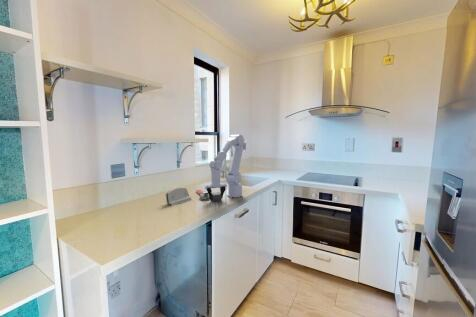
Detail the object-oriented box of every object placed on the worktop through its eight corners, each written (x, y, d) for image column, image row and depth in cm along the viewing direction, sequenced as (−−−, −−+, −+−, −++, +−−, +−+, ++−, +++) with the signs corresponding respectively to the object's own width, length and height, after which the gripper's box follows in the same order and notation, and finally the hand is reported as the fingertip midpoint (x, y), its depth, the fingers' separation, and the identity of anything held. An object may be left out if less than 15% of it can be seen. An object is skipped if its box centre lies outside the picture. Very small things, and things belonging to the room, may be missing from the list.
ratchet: (203, 191, 167) (203, 185, 166) (212, 199, 144) (212, 192, 143) (193, 192, 163) (193, 186, 163) (201, 201, 141) (201, 194, 140)
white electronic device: (171, 206, 130) (167, 190, 131) (167, 207, 133) (163, 191, 134) (191, 199, 144) (188, 185, 145) (187, 200, 147) (183, 186, 148)
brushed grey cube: (218, 199, 144) (218, 192, 144) (221, 201, 139) (221, 194, 139) (210, 200, 142) (210, 193, 142) (213, 202, 137) (213, 195, 136)
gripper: (224, 176, 146) (224, 195, 147) (203, 178, 140) (203, 198, 141) (227, 178, 139) (227, 198, 141) (206, 180, 133) (206, 201, 135)
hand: (216, 198), depth 140 cm, fingers open, 7 cm apart
